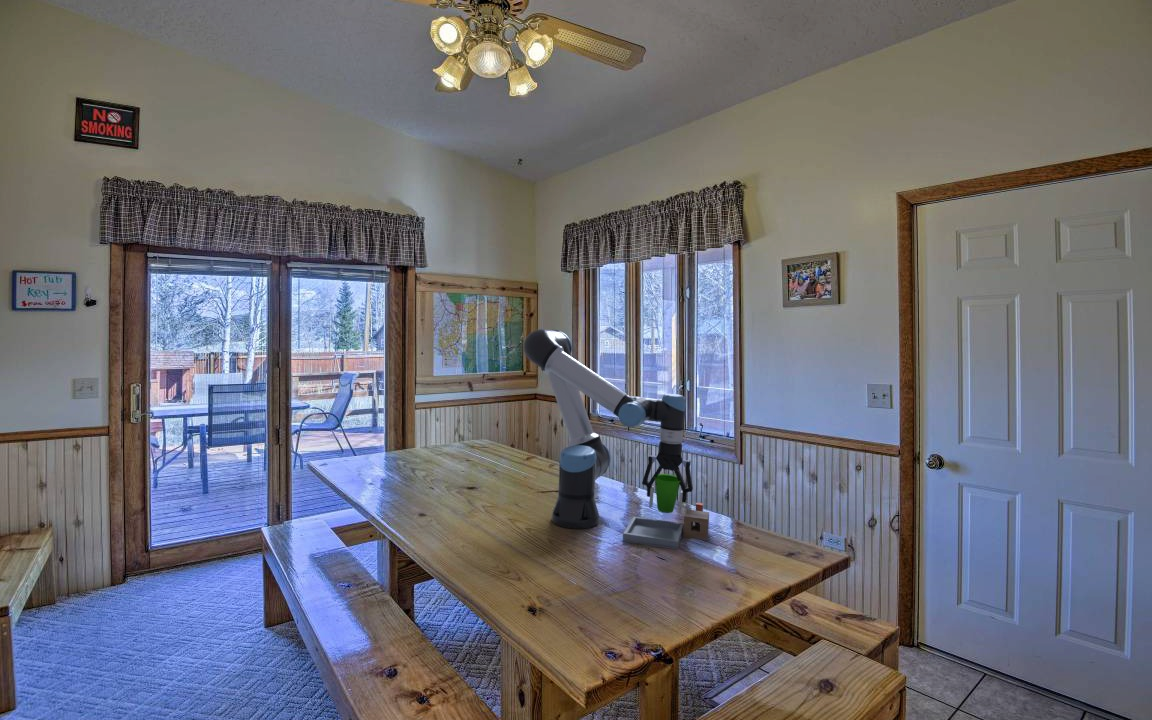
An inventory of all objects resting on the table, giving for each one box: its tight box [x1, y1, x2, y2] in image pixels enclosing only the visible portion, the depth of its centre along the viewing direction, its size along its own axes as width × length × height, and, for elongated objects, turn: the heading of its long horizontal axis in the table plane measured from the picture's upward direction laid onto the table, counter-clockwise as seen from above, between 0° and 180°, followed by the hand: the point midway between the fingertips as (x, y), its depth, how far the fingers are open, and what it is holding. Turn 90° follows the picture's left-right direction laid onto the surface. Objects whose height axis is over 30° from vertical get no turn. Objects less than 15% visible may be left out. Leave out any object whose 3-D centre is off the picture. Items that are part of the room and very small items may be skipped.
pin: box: [693, 502, 704, 524], centre depth 174 cm, size 10×2×5 cm, turn 163°
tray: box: [622, 516, 684, 550], centre depth 165 cm, size 16×16×2 cm
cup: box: [654, 473, 681, 514], centre depth 178 cm, size 9×9×11 cm
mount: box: [682, 508, 710, 541], centre depth 167 cm, size 7×7×6 cm
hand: (665, 508), depth 179 cm, fingers closed on cup, 9 cm apart
